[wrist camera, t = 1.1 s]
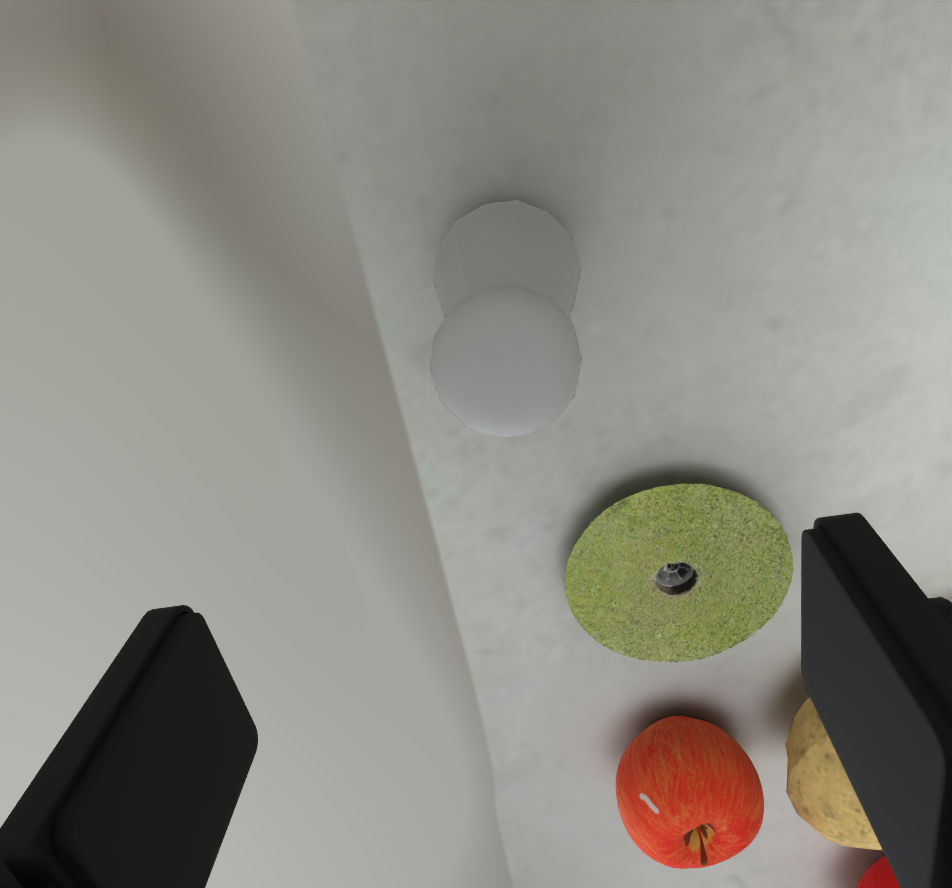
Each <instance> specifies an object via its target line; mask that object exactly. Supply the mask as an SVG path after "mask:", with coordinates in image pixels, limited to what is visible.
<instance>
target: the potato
mask: <svg viewBox="0 0 952 888" xmlns="http://www.w3.org/2000/svg"><path fill="white" fill-rule="evenodd" d="M786 750H787V756H788V767H787V791H786V792H787V794H788V796H789V798H790V800H791V802H792V804H793V806H794V808H795V810H796V813H797V814H798V815H799V816H800V817H801V818H803V819H804V820H805V821H806V822H807V823H808V824H809V825H810V826H812V827H813V828H814V829H815V830H816V831H817V832H818V833H819V834H820V835H821V836H823V837H824V838H825V839H826V840H828V841H831V842H834V843H837V844H840V845H843V846H848V847H855V848H864V849H873V850H882V848H881V846H880V844H879V842H878V840H877V837H876V835H875V833H874V831H873V829H872V827H871V825H870V823H869V821H868V818H867V816H866V814H865V812H864V810H863V808H862V806H861V804H860V802H859V800H858V797H857V795H856V793H855V791H854V789H853V787H852V785H851V783H850V781H849V778H848V776H847V774H846V772H845V770H844V768H843V766H842V764H841V762H840V759H839V757H838V755H837V753H836V751H835V749H834V747H833V745H832V743H831V741H830V738H829V736H828V734H827V732H826V730H825V728H824V726H823V724H822V722H821V719H820V717H819V715H818V713H817V711H816V709H815V707H814V705H813V703H812V700H811V698H810V697H809V698H808V699H807V700H805V702H804V703H803V705H802V706H801V708H800V709H799V711H798V712H797V714H796V715H795V717H794V718H793V721H792V724H791V728H790V731H789V734H788V738H787V741H786Z"/></svg>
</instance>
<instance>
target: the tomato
mask: <svg viewBox="0 0 952 888" xmlns="http://www.w3.org/2000/svg"><path fill="white" fill-rule="evenodd" d="M856 888H900V886H899V884H898V882H897V880H896V877H895V875H894V873H893V871H892V869H891V867H890V865H889V863H888V861H887V858H886V856H884V857H882V858H880V859H878V860H877V861H876V862H875V863H874V864H873V865H872V866H870V867H869V868H868V869H867V870H866V871H865V872H864V874H863V876H862V878H861V879H860V881H859V883H858V885H857V887H856Z"/></svg>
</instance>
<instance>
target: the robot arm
mask: <svg viewBox="0 0 952 888" xmlns="http://www.w3.org/2000/svg"><path fill="white" fill-rule="evenodd" d="M801 668H802V675H803V680H804V683H805V687H806V689H807V692H808V694H809V696H810V698H811V700H812V703H813V705H814V707H815V709H816V711H817V713H818V715H819V717H820V719H821V722H822V724H823V726H824V728H825V730H826V732H827V734H828V736H829V738H830V741H831V743H832V745H833V747H834V749H835V751H836V753H837V755H838V757H839V759H840V762H841V764H842V766H843V768H844V770H845V772H846V774H847V776H848V778H849V781H850V783H851V785H852V787H853V789H854V791H855V793H856V795H857V797H858V800H859V802H860V804H861V806H862V808H863V810H864V812H865V814H866V816H867V818H868V821H869V823H870V825H871V827H872V829H873V831H874V833H875V835H876V837H877V840H878V842H879V844H880V846H881V848H882V850H883V852H884V854H885V856H886V858H887V861H888V863H889V865H890V867H891V869H892V871H893V873H894V875H895V877H896V880H897V882H898V884H899V886H900V888H952V603H951V602H950V601H949V600H947V599H944V598H942V597H937V598H929V599H928V598H927V596H926V595H925V594H924V593H923V591H922V590H921V589H920V588H919V586H918V585H917V584H916V583H915V581H914V580H913V579H912V577H911V576H910V575H909V574H908V572H907V571H906V570H905V569H904V567H903V566H902V565H901V563H900V562H899V561H898V560H897V558H896V557H895V556H894V555H893V553H892V552H891V551H890V549H889V548H888V547H887V546H886V544H885V543H884V542H883V541H882V539H881V538H880V537H879V535H878V534H877V533H876V532H875V530H874V529H873V528H872V527H871V525H870V524H869V523H868V522H867V520H866V519H865V518H864V517H863V516H862V515H861V514H860V513H851V514H843V515H836V516H829V517H821V518H817V519H816V520H815V522H814V528H813V529H808V530H804V531H803V533H802V551H801ZM257 745H258V734H257V729H256V726H255V724H254V722H253V720H252V718H251V716H250V714H249V711H248V709H247V707H246V705H245V703H244V701H243V699H242V697H241V695H240V693H239V690H238V688H237V686H236V684H235V682H234V680H233V678H232V676H231V674H230V672H229V670H228V668H227V666H226V663H225V661H224V659H223V657H222V655H221V653H220V651H219V649H218V647H217V644H216V642H215V640H214V638H213V636H212V634H211V632H210V630H209V628H208V626H207V624H206V621H205V619H204V618H203V616H202V615H201V614H200V613H194V612H193V610H192V609H191V608H190V607H188V606H185V605H181V606H174V607H167V608H159V609H152V610H150V611H148V612H147V613H146V614H145V615H144V616H143V618H142V619H141V621H140V622H139V624H138V625H137V627H136V628H135V630H134V631H133V633H132V634H131V635H130V637H129V639H128V640H127V641H126V643H125V644H124V646H123V647H122V649H121V650H120V652H119V653H118V655H117V656H116V658H115V659H114V661H113V662H112V664H111V665H110V667H109V668H108V670H107V671H106V673H105V674H104V675H103V677H102V679H101V680H100V681H99V683H98V684H97V686H96V687H95V689H94V690H93V692H92V693H91V695H90V696H89V698H88V699H87V701H86V702H85V704H84V705H83V707H82V708H81V710H80V711H79V713H78V714H77V716H76V717H75V718H74V720H73V721H72V723H71V724H70V726H69V727H68V729H67V730H66V732H65V733H64V735H63V736H62V738H61V739H60V741H59V742H58V744H57V745H56V747H55V748H54V750H53V751H52V753H51V754H50V755H49V757H48V759H47V760H46V761H45V763H44V764H43V766H42V767H41V769H40V770H39V772H38V773H37V775H36V776H35V778H34V779H33V781H32V782H31V784H30V785H29V787H28V788H27V789H26V791H25V792H24V794H23V795H22V797H21V799H20V800H19V801H18V803H17V804H16V806H15V807H14V809H13V810H12V812H11V813H10V815H9V816H8V818H7V819H6V821H5V822H4V824H3V825H2V827H1V828H0V888H205V886H206V884H207V881H208V878H209V876H210V873H211V870H212V868H213V865H214V862H215V860H216V857H217V854H218V852H219V849H220V847H221V844H222V841H223V838H224V836H225V833H226V831H227V828H228V825H229V823H230V820H231V817H232V814H233V812H234V809H235V806H236V804H237V801H238V798H239V796H240V793H241V790H242V788H243V785H244V783H245V780H246V777H247V774H248V772H249V769H250V767H251V764H252V761H253V759H254V756H255V753H256V750H257Z"/></svg>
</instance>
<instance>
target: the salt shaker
mask: <svg viewBox="0 0 952 888" xmlns="http://www.w3.org/2000/svg"><path fill="white" fill-rule="evenodd" d="M580 271H581V269H580V265H579V261H578V257H577V253H576V249H575V246H574V242H573V238H572V236H571V235H570V234H569V233H568V232H567V231H566V230H565V229H564V228H563V227H562V226H561V225H560V223H559V222H558V221H557V220H556V219H555V218H554V217H553V216H552V215H551V214H550V213H549V212H546V211H544V210H541V209H539V208H537V207H534V206H532V205H529V204H527V203H524V202H522V201H520V200H513V201H504V202H496V203H488V204H483V205H482V206H480V207H478V208H477V209H475V210H473V211H471V212H470V213H468V214H466V215H465V216H463V217H461V218H460V219H458V220H456V221H455V222H454V224H453V225H452V227H451V229H450V231H449V232H448V234H447V236H446V237H445V239H444V241H443V243H442V244H441V246H440V248H439V249H438V254H437V263H436V272H435V280H434V283H435V287H436V290H437V293H438V297H439V300H440V303H441V307H442V310H443V313H444V317H445V319H444V321H443V322H442V324H441V326H440V327H439V329H438V330H437V332H436V334H435V336H434V340H433V349H432V358H431V366H430V371H431V376H432V380H433V382H434V384H435V387H436V389H437V392H438V394H439V397H440V399H441V402H442V404H443V406H444V407H445V408H446V409H447V410H448V411H449V412H450V413H451V414H452V415H453V416H454V417H455V418H456V419H457V420H459V421H460V422H461V423H462V424H463V425H464V426H465V427H466V428H469V429H472V430H475V431H478V432H481V433H484V434H487V435H491V436H494V437H506V436H523V435H528V434H530V433H532V432H534V431H536V430H538V429H540V428H542V427H544V426H545V425H547V424H549V423H551V422H553V421H555V420H556V418H557V417H558V416H559V415H560V413H561V412H562V411H563V410H564V409H565V407H566V406H567V405H568V404H569V402H570V401H571V400H572V399H573V397H574V395H575V391H576V386H577V381H578V376H579V371H580V365H581V360H582V355H581V351H580V348H579V344H578V341H577V337H576V333H575V330H574V326H573V324H572V321H571V319H570V318H569V317H570V314H571V311H572V308H573V305H574V302H575V298H576V292H577V287H578V281H579V276H580Z"/></svg>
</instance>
